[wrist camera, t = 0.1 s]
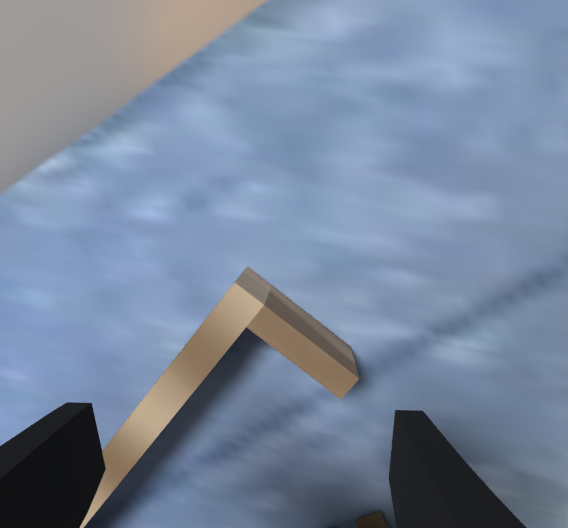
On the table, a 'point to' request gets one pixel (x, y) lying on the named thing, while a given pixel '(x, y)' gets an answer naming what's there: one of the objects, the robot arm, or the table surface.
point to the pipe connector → (372, 521)
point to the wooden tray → (209, 350)
